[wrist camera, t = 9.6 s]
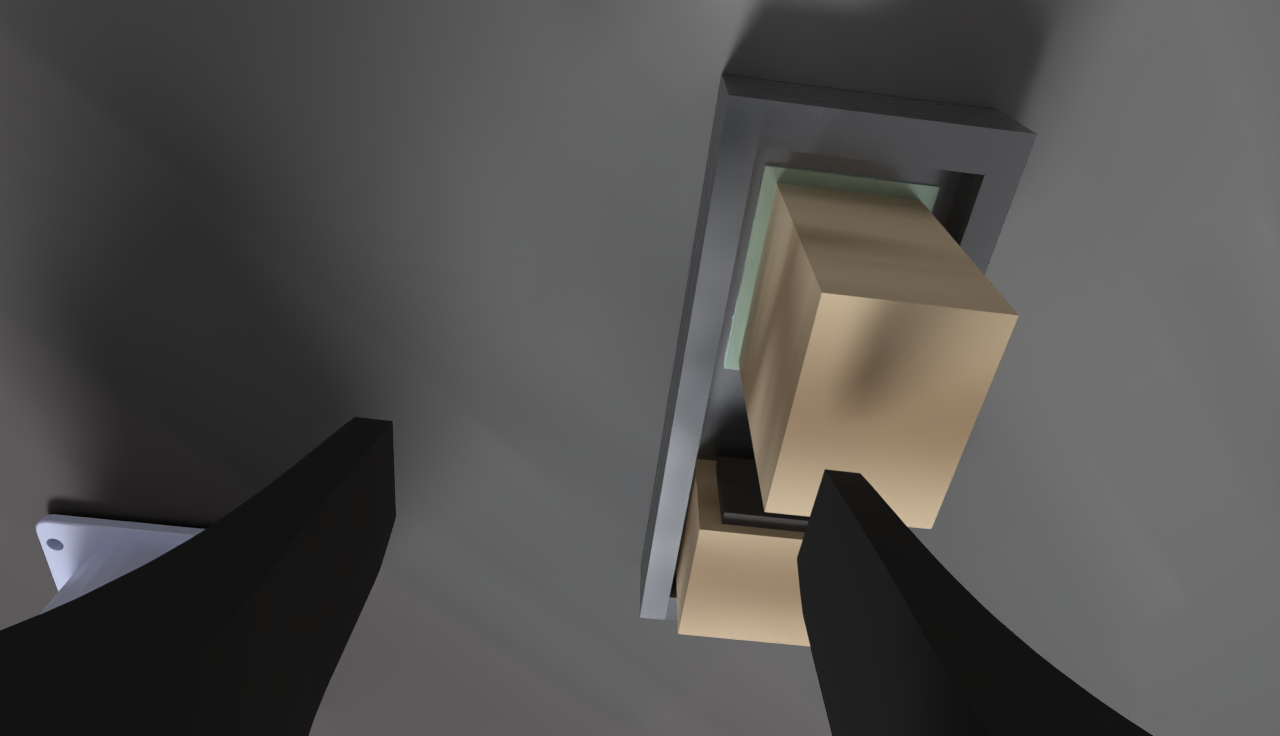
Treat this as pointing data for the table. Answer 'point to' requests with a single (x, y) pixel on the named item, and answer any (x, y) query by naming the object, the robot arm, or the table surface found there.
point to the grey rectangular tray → (735, 231)
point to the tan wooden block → (865, 350)
